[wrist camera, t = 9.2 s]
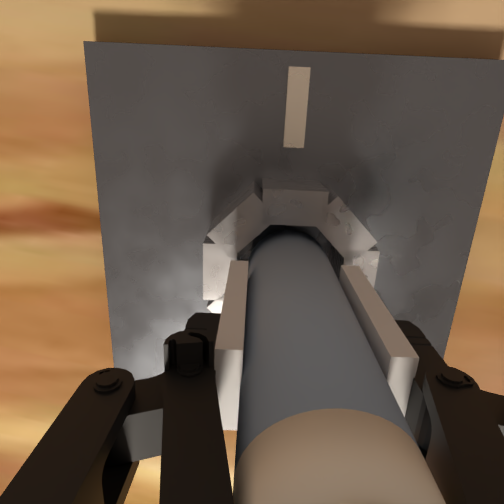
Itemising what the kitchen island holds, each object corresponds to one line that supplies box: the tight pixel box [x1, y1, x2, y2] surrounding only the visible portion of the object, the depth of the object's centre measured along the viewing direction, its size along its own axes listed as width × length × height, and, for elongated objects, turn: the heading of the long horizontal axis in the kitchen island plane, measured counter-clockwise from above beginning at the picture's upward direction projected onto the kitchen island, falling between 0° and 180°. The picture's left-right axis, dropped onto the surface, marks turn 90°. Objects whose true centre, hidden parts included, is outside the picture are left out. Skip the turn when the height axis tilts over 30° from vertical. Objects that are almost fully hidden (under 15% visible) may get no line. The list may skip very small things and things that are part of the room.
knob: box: [233, 230, 446, 504], centre depth 12 cm, size 4×4×15 cm
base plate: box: [83, 41, 504, 380], centre depth 21 cm, size 20×20×4 cm
